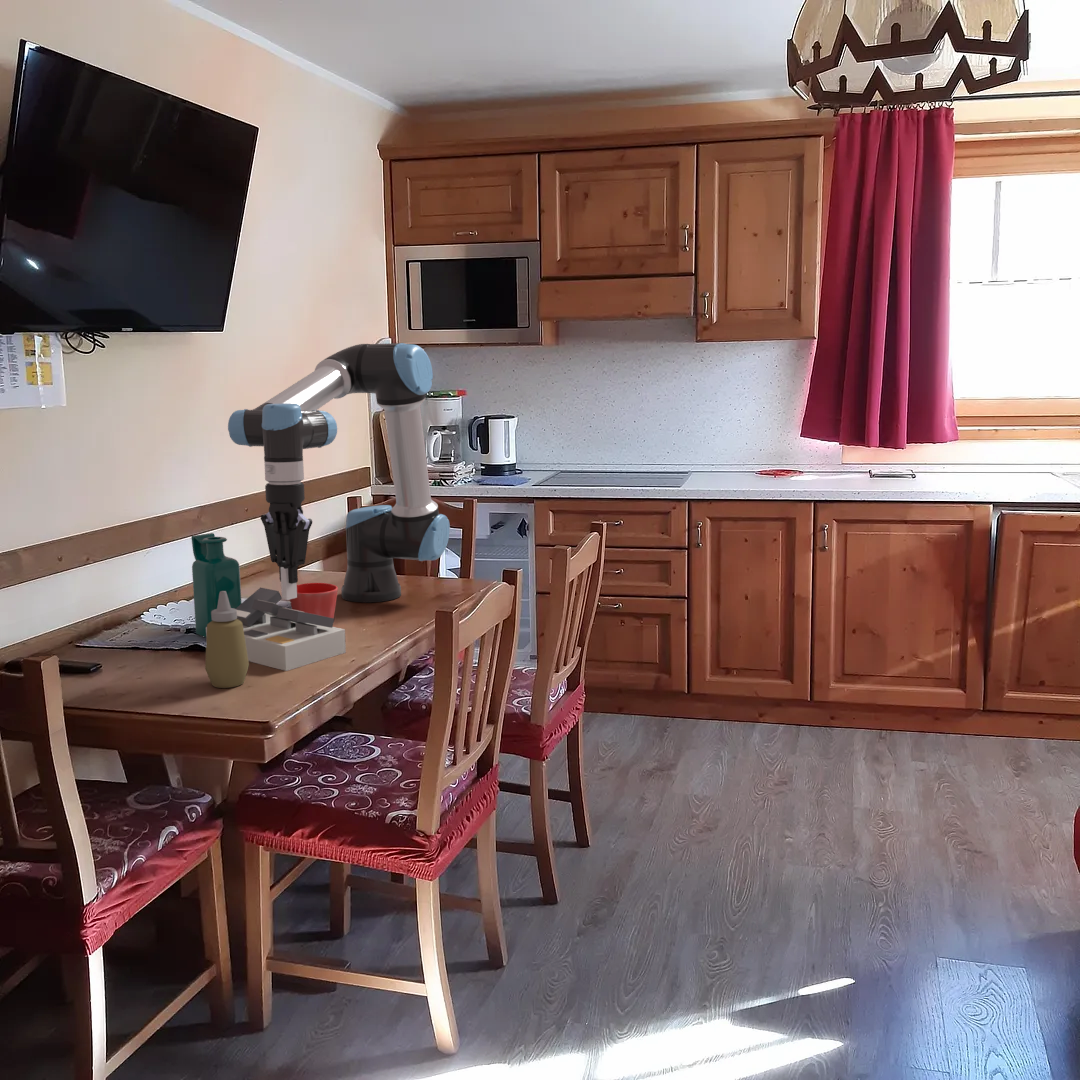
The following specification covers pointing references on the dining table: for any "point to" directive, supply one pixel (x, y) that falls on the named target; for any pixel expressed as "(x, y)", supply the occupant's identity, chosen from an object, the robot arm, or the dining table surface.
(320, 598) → the flower pot
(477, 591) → the dining table surface
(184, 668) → the dining table surface
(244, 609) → the rocker
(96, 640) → the dining table surface
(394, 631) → the dining table surface
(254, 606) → the rocker
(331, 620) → the rocker
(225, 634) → the squeeze bottle
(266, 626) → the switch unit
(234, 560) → the pitcher
